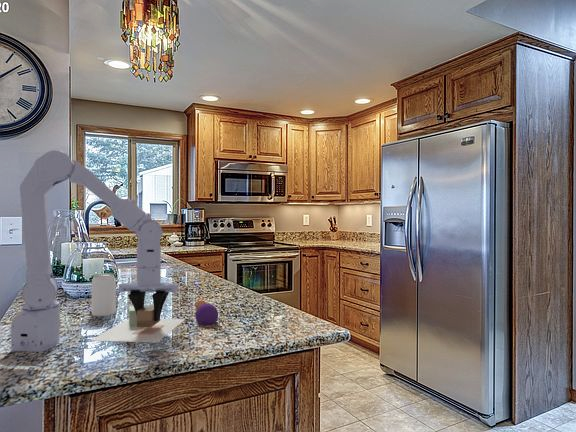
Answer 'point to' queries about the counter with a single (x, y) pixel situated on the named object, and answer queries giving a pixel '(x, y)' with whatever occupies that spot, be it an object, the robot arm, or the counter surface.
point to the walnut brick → (146, 316)
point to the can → (103, 294)
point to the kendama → (206, 313)
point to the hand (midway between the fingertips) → (148, 320)
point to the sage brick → (132, 316)
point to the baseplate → (139, 332)
